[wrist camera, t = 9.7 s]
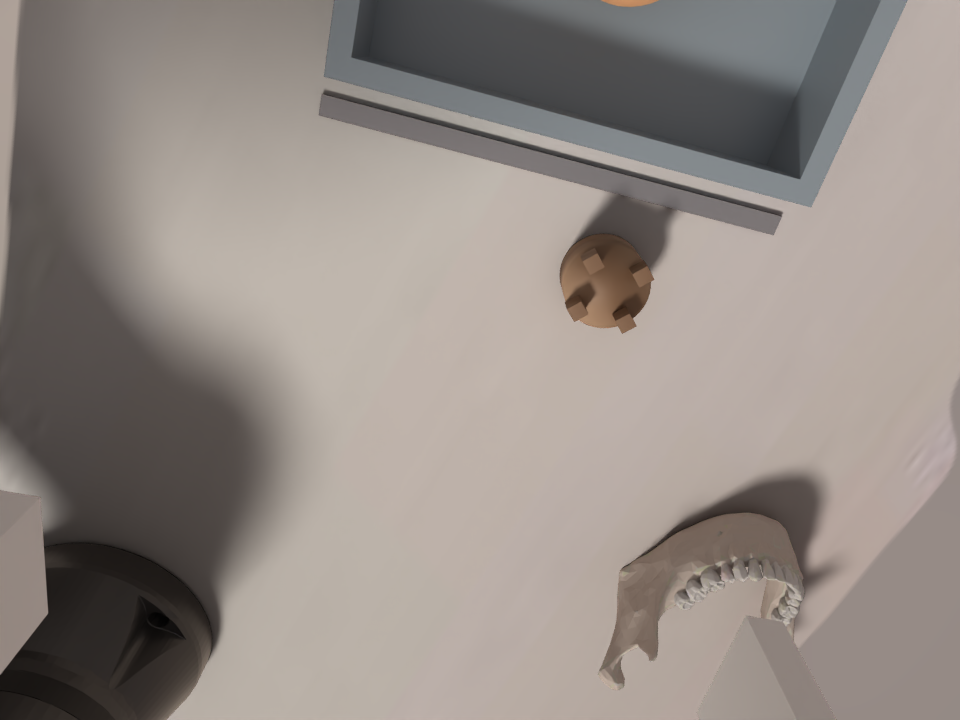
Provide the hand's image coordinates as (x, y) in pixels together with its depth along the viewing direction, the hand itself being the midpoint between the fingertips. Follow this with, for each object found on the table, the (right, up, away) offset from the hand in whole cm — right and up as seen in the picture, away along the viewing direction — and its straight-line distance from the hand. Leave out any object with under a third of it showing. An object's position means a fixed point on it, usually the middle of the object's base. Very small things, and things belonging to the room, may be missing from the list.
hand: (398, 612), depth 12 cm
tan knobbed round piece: (+8, +9, +23) cm, 26 cm away
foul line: (+5, +15, +21) cm, 26 cm away
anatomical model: (+17, -10, +32) cm, 38 cm away
